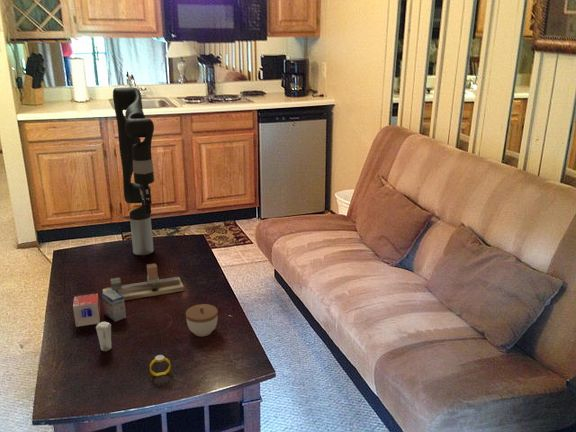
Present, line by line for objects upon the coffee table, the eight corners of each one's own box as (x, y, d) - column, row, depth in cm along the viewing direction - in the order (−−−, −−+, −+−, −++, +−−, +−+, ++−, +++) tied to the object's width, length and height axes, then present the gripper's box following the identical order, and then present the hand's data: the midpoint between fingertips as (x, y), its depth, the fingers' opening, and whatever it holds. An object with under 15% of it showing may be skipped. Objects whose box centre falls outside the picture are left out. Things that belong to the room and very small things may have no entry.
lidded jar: (183, 327, 180) (182, 303, 177) (213, 321, 184) (212, 297, 181) (190, 343, 170) (189, 317, 167) (222, 336, 174) (221, 311, 171)
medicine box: (103, 314, 188) (101, 293, 185) (115, 310, 191) (112, 289, 188) (115, 322, 183) (112, 300, 180) (126, 317, 186) (124, 295, 183)
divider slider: (147, 284, 207) (145, 264, 204) (157, 282, 208) (156, 262, 206) (149, 288, 203) (147, 268, 200) (159, 287, 205) (157, 267, 202)
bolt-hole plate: (103, 292, 204) (101, 277, 202) (179, 280, 215) (178, 265, 213) (104, 303, 195) (102, 288, 193) (184, 290, 206) (183, 275, 204)
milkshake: (107, 354, 164) (103, 326, 161) (95, 349, 166) (92, 322, 163) (118, 348, 167) (115, 320, 164) (107, 343, 170) (103, 316, 167)
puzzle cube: (100, 312, 189) (97, 293, 187) (100, 323, 182) (97, 303, 180) (76, 316, 187) (74, 296, 184) (75, 327, 180) (72, 306, 177)
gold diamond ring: (170, 370, 156) (170, 353, 155) (171, 376, 154) (171, 358, 152) (149, 373, 154) (149, 355, 153) (150, 378, 152) (150, 361, 150)
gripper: (131, 167, 206) (135, 206, 211) (135, 175, 193) (139, 216, 198) (150, 165, 208) (154, 204, 214) (155, 173, 196) (159, 214, 201)
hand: (146, 210), depth 206 cm, fingers open, 8 cm apart
